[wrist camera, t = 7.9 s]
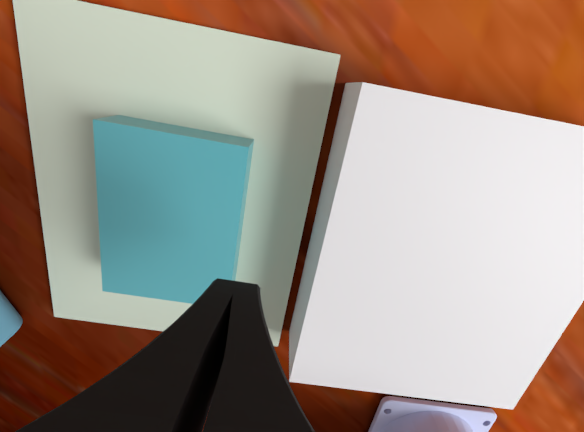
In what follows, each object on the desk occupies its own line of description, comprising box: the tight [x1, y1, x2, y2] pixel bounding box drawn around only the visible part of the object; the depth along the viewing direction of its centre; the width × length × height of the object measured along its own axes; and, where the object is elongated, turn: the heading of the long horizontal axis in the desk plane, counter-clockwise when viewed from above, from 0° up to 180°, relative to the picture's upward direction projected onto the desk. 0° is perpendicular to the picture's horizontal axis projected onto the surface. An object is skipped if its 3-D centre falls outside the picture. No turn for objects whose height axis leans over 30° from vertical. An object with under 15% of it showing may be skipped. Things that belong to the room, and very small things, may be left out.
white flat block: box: [289, 82, 584, 410], centre depth 15 cm, size 14×12×4 cm
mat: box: [13, 0, 341, 346], centre depth 16 cm, size 16×13×1 cm
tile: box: [93, 115, 254, 304], centre depth 15 cm, size 8×6×2 cm
